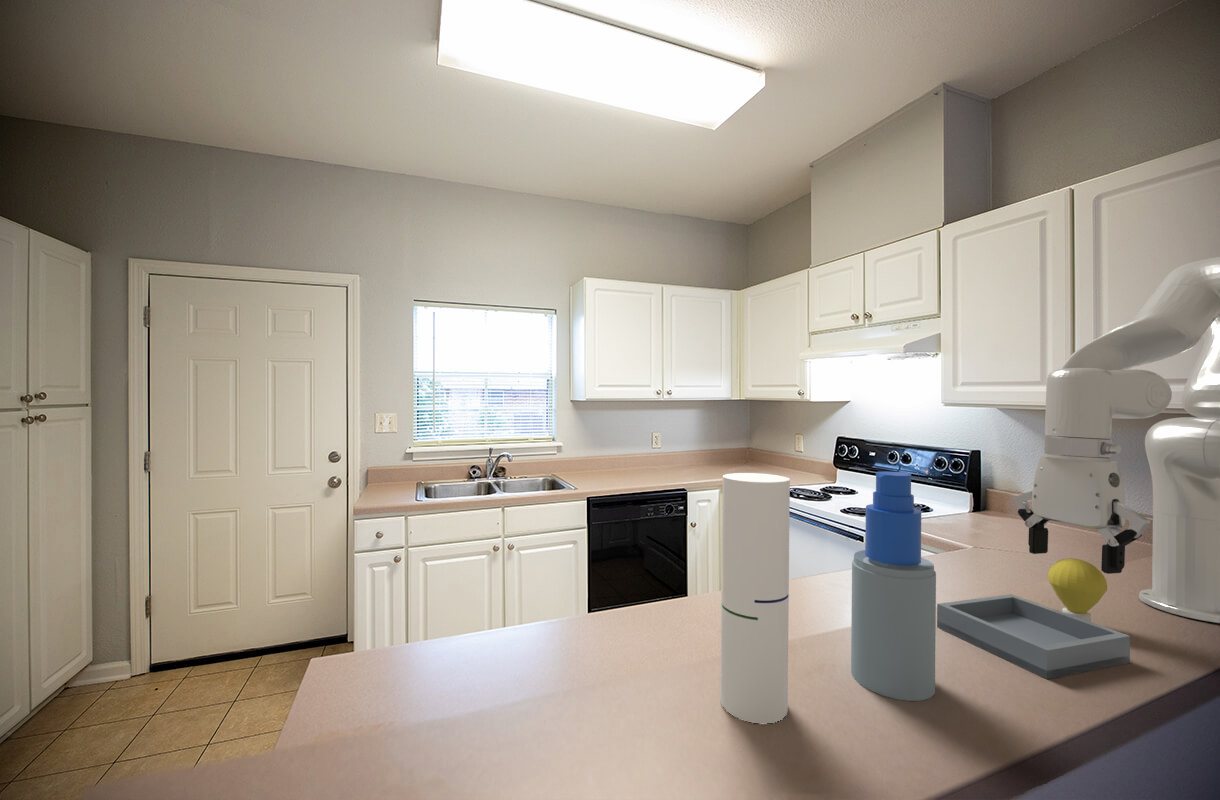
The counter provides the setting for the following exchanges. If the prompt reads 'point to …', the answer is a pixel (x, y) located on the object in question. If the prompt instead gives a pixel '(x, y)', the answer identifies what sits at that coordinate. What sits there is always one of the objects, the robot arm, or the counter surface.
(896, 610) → the spray bottle
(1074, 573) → the light bulb
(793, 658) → the counter surface
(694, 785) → the counter surface
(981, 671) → the counter surface
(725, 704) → the cylindrical container
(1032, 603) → the tray
